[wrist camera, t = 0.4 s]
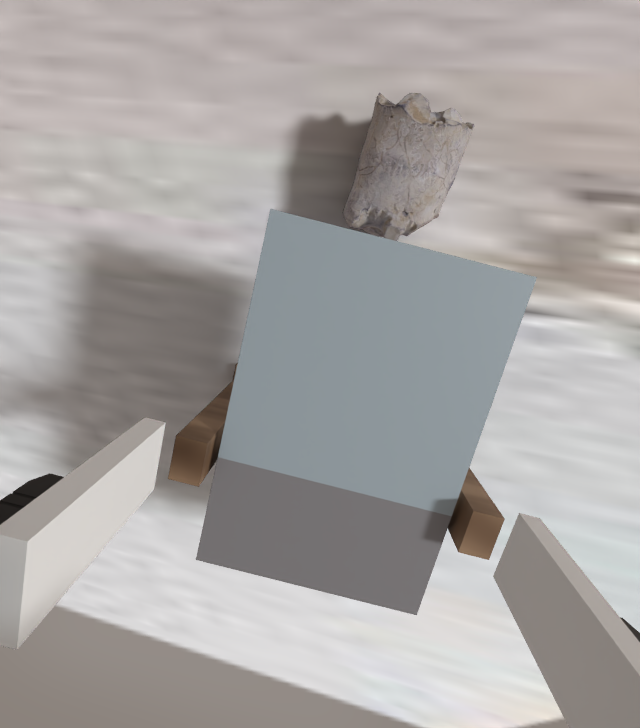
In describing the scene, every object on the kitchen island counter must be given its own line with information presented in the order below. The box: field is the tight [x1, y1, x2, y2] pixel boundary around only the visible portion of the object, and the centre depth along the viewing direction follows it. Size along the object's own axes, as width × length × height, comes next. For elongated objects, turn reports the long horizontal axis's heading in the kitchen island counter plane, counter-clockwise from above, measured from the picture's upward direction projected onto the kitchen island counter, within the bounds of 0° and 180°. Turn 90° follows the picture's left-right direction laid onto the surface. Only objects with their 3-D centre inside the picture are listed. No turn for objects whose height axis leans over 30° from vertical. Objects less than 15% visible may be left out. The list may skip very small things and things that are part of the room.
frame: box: [168, 363, 504, 560], centre depth 34 cm, size 5×22×17 cm, turn 76°
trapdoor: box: [196, 209, 537, 615], centre depth 28 cm, size 24×16×4 cm, turn 166°
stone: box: [343, 92, 474, 241], centre depth 34 cm, size 8×12×7 cm, turn 163°
